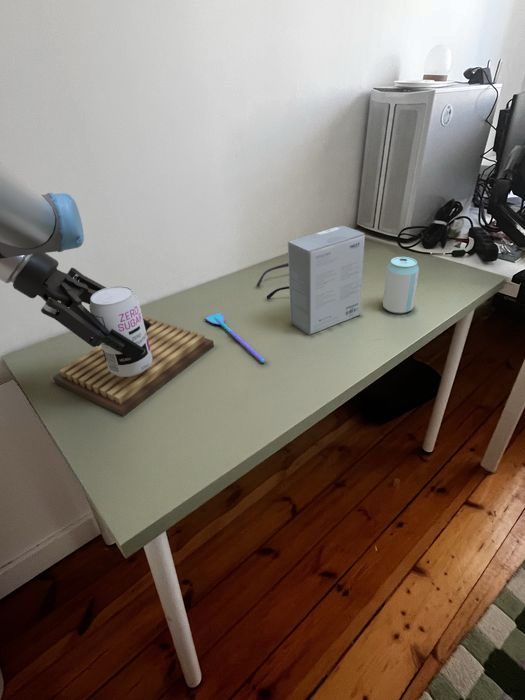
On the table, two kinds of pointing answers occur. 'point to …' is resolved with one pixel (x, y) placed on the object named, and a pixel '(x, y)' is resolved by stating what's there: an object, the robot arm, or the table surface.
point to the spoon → (232, 333)
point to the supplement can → (122, 328)
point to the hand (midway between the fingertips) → (143, 341)
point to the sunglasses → (278, 288)
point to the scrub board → (128, 392)
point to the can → (400, 285)
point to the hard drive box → (325, 278)
